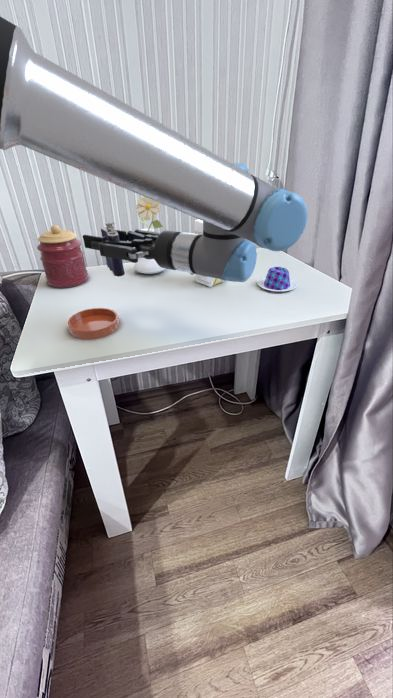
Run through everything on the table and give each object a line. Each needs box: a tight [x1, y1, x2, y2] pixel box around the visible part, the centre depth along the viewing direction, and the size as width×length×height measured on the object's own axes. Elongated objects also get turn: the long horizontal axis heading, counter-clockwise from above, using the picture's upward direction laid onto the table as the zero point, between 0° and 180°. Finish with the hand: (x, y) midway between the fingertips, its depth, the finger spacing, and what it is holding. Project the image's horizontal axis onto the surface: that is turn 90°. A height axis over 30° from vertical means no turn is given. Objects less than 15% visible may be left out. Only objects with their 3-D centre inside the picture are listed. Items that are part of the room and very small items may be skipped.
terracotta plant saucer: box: [67, 307, 120, 340], centre depth 80 cm, size 12×12×2 cm
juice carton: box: [193, 218, 224, 288], centre depth 99 cm, size 8×9×19 cm
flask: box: [100, 222, 125, 278], centre depth 73 cm, size 9×3×11 cm, turn 26°
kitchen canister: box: [36, 224, 89, 289], centre depth 101 cm, size 13×13×18 cm
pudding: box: [256, 266, 298, 292], centre depth 99 cm, size 12×12×5 cm
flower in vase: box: [133, 196, 166, 275], centre depth 105 cm, size 13×11×25 cm
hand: (95, 237), depth 75 cm, fingers closed on flask, 6 cm apart
